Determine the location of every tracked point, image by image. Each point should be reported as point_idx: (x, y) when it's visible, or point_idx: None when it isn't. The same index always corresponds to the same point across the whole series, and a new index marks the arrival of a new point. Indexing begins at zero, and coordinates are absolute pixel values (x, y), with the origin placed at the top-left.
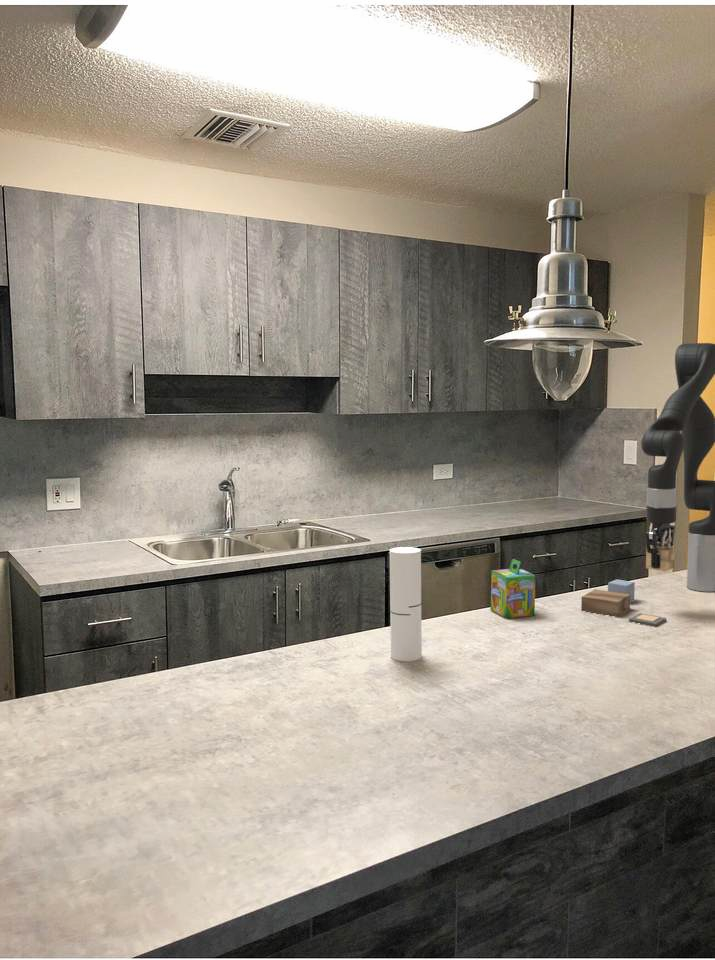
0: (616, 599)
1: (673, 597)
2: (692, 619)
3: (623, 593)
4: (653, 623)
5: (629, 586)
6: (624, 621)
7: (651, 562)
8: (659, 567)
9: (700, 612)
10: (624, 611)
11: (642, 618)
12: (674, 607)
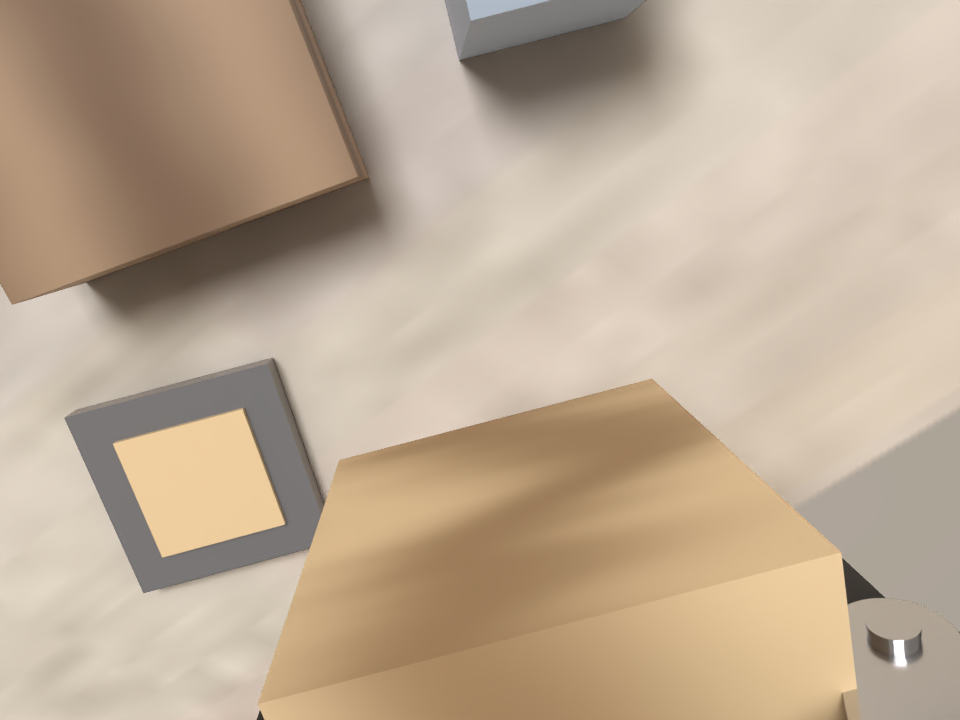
0: (75, 228)
1: (946, 165)
2: None
3: (325, 111)
4: (139, 579)
5: (549, 5)
6: (55, 382)
7: None
8: None
9: None
10: (239, 225)
11: (149, 478)
12: (683, 353)
